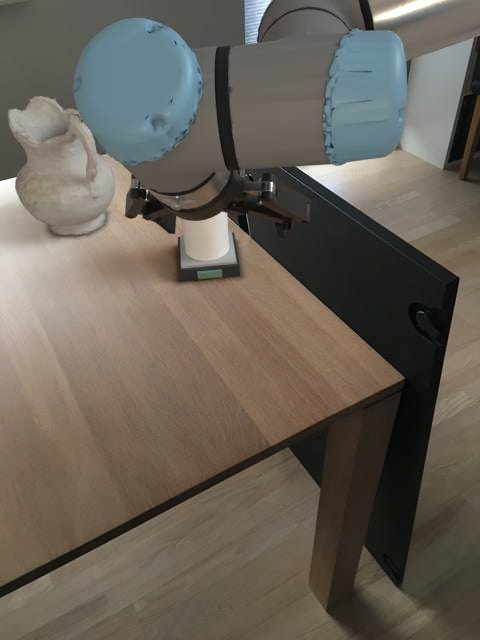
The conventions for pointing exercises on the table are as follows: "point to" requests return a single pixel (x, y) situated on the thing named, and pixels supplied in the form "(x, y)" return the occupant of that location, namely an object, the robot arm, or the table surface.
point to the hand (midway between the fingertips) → (227, 225)
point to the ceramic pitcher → (61, 168)
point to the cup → (206, 237)
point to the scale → (208, 263)
